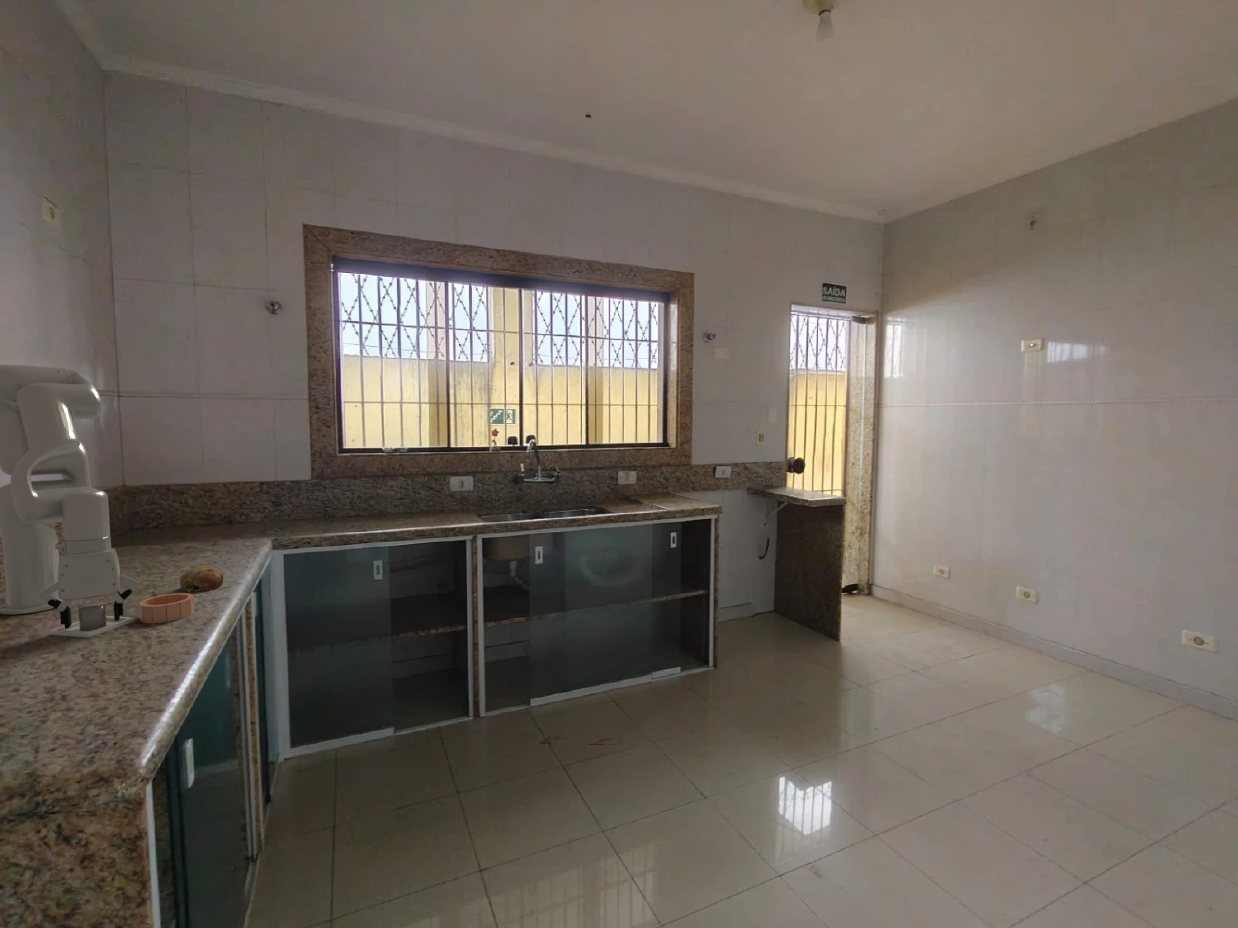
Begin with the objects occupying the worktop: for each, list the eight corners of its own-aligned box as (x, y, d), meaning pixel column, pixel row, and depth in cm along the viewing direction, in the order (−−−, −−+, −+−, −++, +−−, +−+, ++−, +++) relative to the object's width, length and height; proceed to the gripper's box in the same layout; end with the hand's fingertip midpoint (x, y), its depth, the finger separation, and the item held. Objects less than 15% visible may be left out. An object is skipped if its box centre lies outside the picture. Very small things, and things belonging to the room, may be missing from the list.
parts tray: (49, 635, 123) (49, 630, 123) (97, 620, 133) (97, 615, 133) (88, 638, 122) (88, 633, 122) (134, 622, 132) (134, 617, 132)
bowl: (128, 623, 132) (127, 605, 131) (168, 609, 141) (167, 592, 141) (166, 625, 130) (165, 607, 130) (204, 611, 140) (203, 594, 140)
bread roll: (177, 604, 156) (170, 582, 152) (192, 579, 165) (185, 558, 161) (218, 601, 159) (212, 579, 155) (231, 577, 167) (225, 556, 164)
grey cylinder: (74, 630, 126) (72, 608, 125) (95, 623, 130) (94, 602, 130) (91, 631, 125) (90, 609, 125) (112, 624, 130) (111, 603, 129)
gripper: (28, 554, 118) (34, 636, 119) (138, 543, 128) (142, 619, 130) (36, 547, 124) (42, 626, 125) (140, 538, 134) (144, 610, 136)
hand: (93, 622), depth 128 cm, fingers open, 7 cm apart
